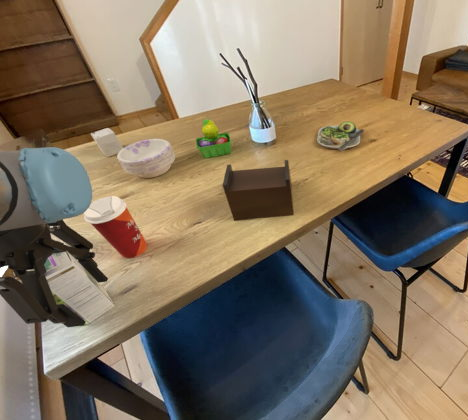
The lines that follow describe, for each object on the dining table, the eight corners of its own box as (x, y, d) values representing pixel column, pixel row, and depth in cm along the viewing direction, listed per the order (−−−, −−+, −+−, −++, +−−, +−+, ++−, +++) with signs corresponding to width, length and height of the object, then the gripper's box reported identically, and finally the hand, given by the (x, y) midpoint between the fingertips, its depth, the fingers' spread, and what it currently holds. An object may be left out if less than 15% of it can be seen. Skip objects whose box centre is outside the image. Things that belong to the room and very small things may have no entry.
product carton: (125, 151, 101) (114, 132, 96) (107, 157, 98) (95, 138, 93) (119, 145, 104) (108, 127, 99) (101, 151, 101) (89, 133, 96)
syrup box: (74, 309, 55) (20, 266, 45) (106, 289, 59) (62, 245, 49) (84, 327, 53) (29, 285, 43) (117, 305, 56) (72, 261, 46)
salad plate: (363, 155, 97) (364, 144, 94) (313, 153, 99) (312, 141, 96) (363, 130, 112) (364, 119, 108) (320, 128, 113) (319, 117, 110)
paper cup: (157, 248, 67) (128, 205, 57) (123, 267, 63) (86, 224, 53) (144, 232, 71) (116, 189, 61) (111, 249, 67) (75, 206, 57)
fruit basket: (201, 161, 96) (190, 131, 88) (199, 149, 102) (189, 119, 94) (234, 154, 99) (226, 124, 91) (231, 143, 105) (223, 114, 97)
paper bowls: (154, 154, 99) (145, 134, 94) (188, 162, 95) (180, 141, 89) (117, 177, 89) (104, 156, 83) (153, 188, 84) (142, 166, 79)
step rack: (293, 215, 75) (289, 179, 67) (233, 220, 74) (222, 185, 66) (291, 182, 86) (287, 148, 78) (239, 186, 85) (229, 152, 76)
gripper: (-39, 281, 31) (82, 356, 46) (66, 173, 47) (130, 256, 62) (-114, 289, 30) (33, 362, 46) (17, 177, 46) (95, 259, 61)
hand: (89, 301), depth 54 cm, fingers open, 9 cm apart
